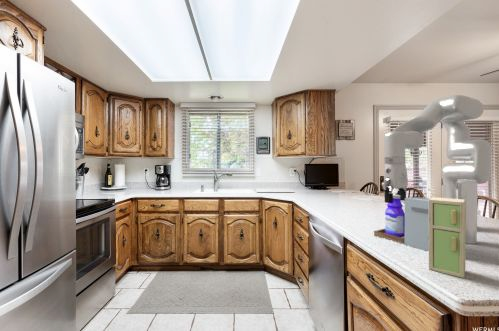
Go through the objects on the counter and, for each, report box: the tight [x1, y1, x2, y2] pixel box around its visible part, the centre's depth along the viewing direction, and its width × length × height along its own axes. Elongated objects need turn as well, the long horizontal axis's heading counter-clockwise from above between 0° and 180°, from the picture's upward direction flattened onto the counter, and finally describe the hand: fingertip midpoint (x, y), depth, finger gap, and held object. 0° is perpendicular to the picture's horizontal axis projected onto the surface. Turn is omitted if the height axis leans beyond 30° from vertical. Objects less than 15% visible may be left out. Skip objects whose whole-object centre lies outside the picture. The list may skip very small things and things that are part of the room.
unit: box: [404, 196, 431, 252], centre depth 87 cm, size 9×12×18 cm
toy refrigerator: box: [428, 196, 466, 279], centre depth 69 cm, size 8×7×21 cm
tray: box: [373, 228, 405, 244], centre depth 99 cm, size 10×11×2 cm
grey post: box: [455, 179, 479, 245], centre depth 94 cm, size 6×6×25 cm
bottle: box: [384, 194, 405, 237], centre depth 100 cm, size 7×6×17 cm
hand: (395, 201), depth 100 cm, fingers open, 9 cm apart
